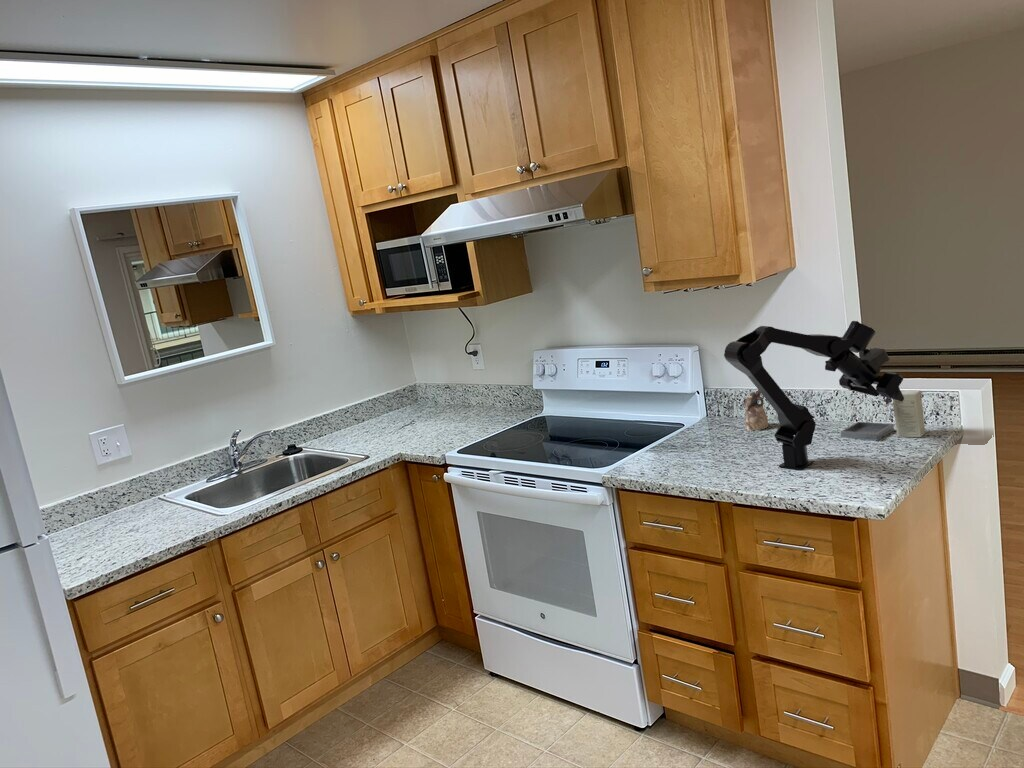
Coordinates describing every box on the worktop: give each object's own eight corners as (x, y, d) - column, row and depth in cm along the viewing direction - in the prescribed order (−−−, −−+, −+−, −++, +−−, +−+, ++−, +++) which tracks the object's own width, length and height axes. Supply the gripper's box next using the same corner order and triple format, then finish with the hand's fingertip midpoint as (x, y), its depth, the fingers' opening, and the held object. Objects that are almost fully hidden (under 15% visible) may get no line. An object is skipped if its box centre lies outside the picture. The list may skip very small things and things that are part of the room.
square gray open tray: (877, 440, 210) (876, 434, 210) (840, 437, 218) (840, 431, 218) (894, 430, 217) (893, 424, 216) (858, 427, 225) (857, 421, 224)
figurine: (744, 426, 246) (739, 390, 244) (767, 423, 245) (762, 387, 243) (746, 432, 240) (741, 395, 237) (770, 429, 238) (765, 392, 236)
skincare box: (925, 433, 209) (922, 390, 207) (921, 438, 206) (917, 394, 204) (900, 432, 214) (896, 390, 212) (895, 436, 211) (891, 394, 209)
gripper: (893, 343, 194) (933, 376, 198) (843, 338, 212) (880, 368, 216) (870, 380, 193) (910, 412, 198) (822, 371, 211) (860, 401, 216)
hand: (890, 397), depth 207 cm, fingers open, 9 cm apart
